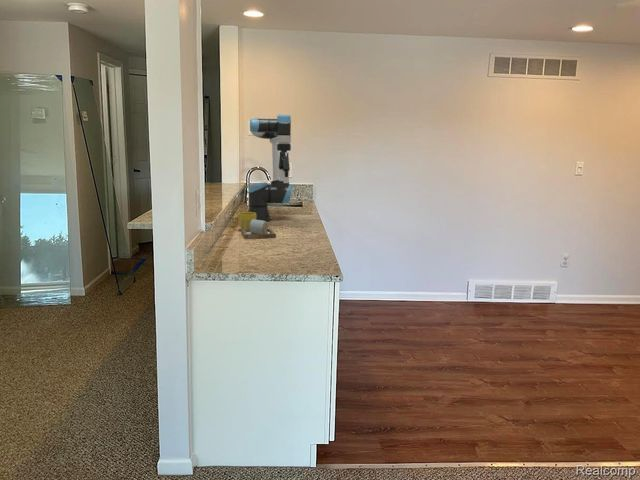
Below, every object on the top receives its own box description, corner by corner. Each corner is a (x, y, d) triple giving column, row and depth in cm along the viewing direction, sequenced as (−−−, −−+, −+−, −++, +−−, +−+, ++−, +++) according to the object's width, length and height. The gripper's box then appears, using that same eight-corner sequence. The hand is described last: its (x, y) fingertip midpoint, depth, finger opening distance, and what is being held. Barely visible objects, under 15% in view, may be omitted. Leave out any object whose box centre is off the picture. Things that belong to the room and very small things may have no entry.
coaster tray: (241, 233, 280) (241, 229, 280) (271, 232, 284) (271, 228, 284) (244, 239, 265) (244, 234, 264) (275, 238, 269) (275, 233, 268)
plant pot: (258, 229, 294) (258, 212, 292) (254, 232, 284) (254, 214, 282) (240, 228, 295) (240, 211, 293) (235, 231, 285) (235, 214, 283)
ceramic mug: (263, 235, 269) (263, 220, 268) (249, 234, 271) (249, 220, 270) (271, 232, 279) (271, 218, 278) (256, 231, 282) (256, 217, 280)
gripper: (273, 143, 297) (273, 180, 301) (281, 143, 274) (281, 183, 278) (286, 143, 299) (286, 180, 303) (295, 143, 275) (295, 183, 280)
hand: (284, 182), depth 291 cm, fingers open, 13 cm apart
